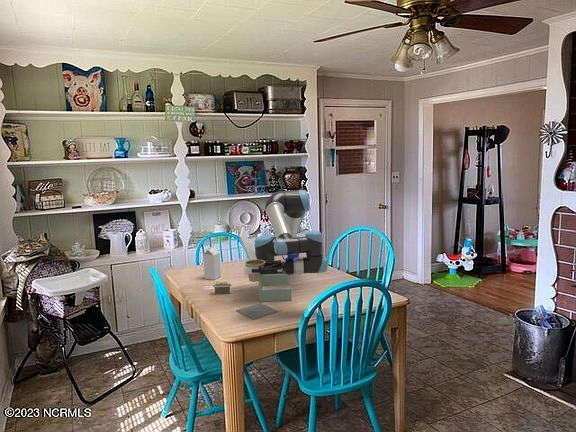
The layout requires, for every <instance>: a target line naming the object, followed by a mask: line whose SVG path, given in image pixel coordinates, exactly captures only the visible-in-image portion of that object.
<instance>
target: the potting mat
mask: <svg viewBox="0 0 576 432" xmlns="http://www.w3.org/2000/svg"><path fill="white" fill-rule="evenodd" d="M235 311H236V312H237V313H238V314H241V315H242V316H244V317H247V318H249V319H251V320H257V319H259V318H264V317H266V316H269V315H272V314H274V313H278V312H279V310H277V309H276V308H273V307H271V306H269V305H266V304H265V303H261V302H259V303H255V304H252V305H249V306H246V307H242V308H239V309H236V310H235Z"/></svg>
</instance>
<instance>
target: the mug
mask: <svg viewBox="0 0 576 432" xmlns="http://www.w3.org/2000/svg"><path fill="white" fill-rule="evenodd" d="M299 257H300V253H298V254H293V255H286V258H293V259H294V258H299ZM281 258H282V260H284V261H285V259H286V258H285V257H284V255H282V256H281Z"/></svg>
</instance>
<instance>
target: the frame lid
mask: <svg viewBox="0 0 576 432" xmlns="http://www.w3.org/2000/svg"><path fill="white" fill-rule="evenodd" d="M239 240H240V242H241V245H242V246H243V250H244V251H245V253H246V256H247V258H248V261H249V260H257V258H256V255H255V250H254V249H253V246H252V244H251V242H250V239H249V237H248V234H247V231H246V230H245V227H244V226H241V230H240V233H239Z"/></svg>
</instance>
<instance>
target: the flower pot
mask: <svg viewBox="0 0 576 432" xmlns="http://www.w3.org/2000/svg"><path fill="white" fill-rule="evenodd" d="M264 263H265V261H263V260H249V259H248V260H246V261H245V262H244V265H245V264H246V267H247V268H248V267H259V266H260V267H264ZM247 276H248V281H249V282H252V283H255V282H258V283H259V281H261V280H262V278H263V275H261V274H259V273H253V274H247Z"/></svg>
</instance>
